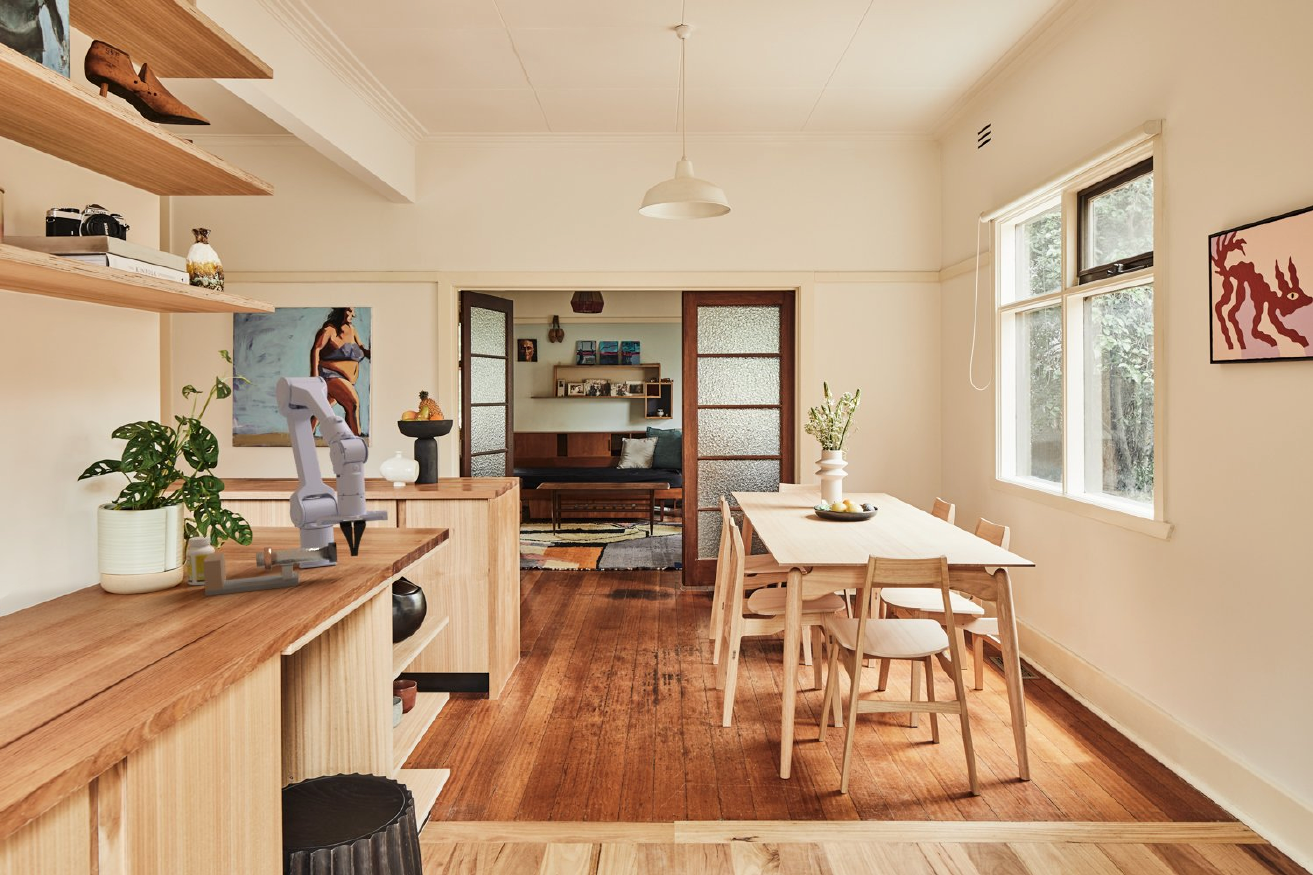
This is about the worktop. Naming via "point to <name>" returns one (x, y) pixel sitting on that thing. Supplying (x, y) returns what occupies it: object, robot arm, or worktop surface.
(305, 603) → the worktop surface
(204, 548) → the supplement bottle
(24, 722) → the worktop surface
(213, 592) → the shaft stand
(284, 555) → the shaft
